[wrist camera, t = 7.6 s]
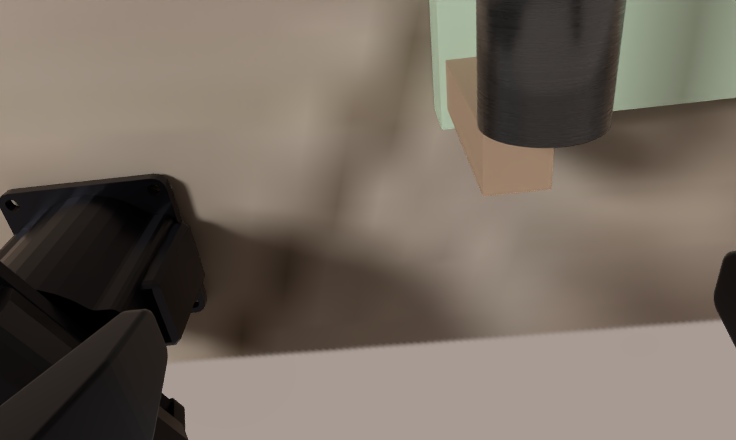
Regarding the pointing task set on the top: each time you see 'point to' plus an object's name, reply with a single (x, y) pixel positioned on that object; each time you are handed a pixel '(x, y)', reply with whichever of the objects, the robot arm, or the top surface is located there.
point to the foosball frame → (633, 86)
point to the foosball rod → (547, 69)
